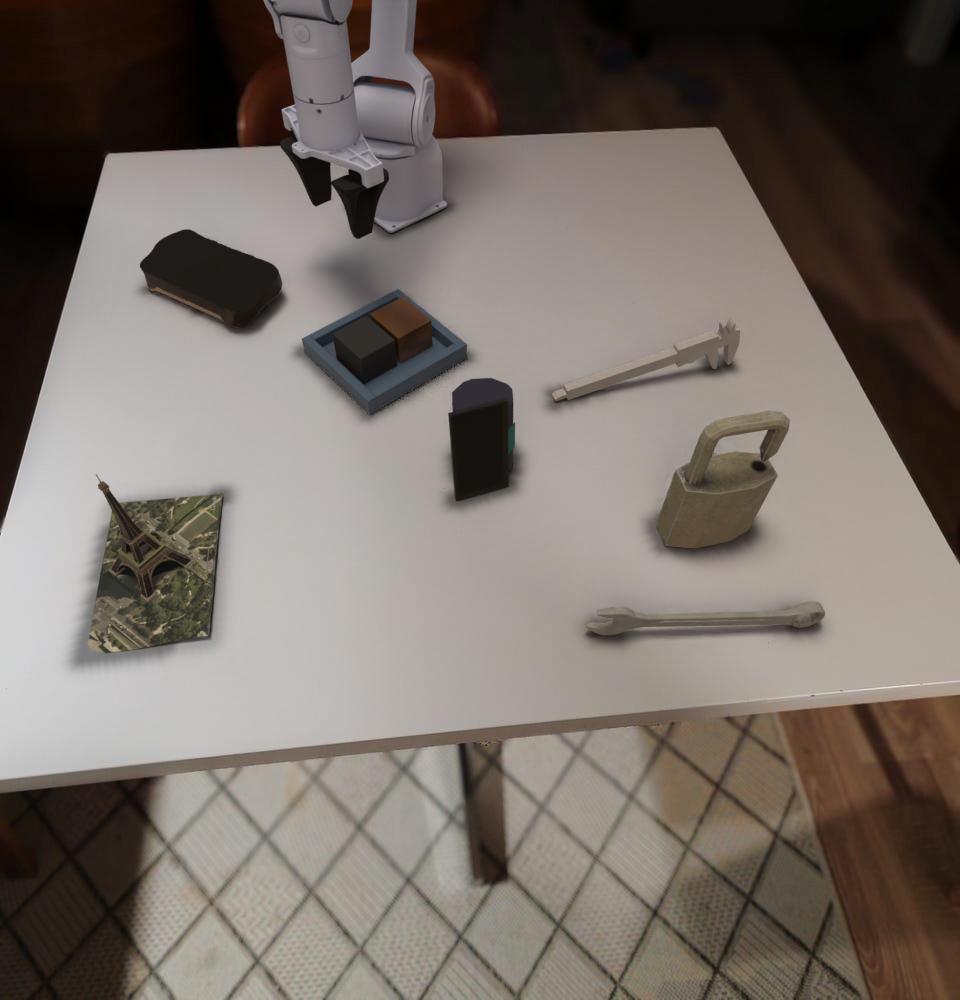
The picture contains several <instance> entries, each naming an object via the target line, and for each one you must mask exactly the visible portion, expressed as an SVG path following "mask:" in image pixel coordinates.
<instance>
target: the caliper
mask: <svg viewBox="0 0 960 1000" xmlns="http://www.w3.org/2000/svg"><path fill="white" fill-rule="evenodd" d="M740 342H741V329H740V328H739V326H738V324H737V323H736V322H735V320H734V319H733V318H732V317H730V318H729V319H728V320H727V322H726V323H725V325H724V323H723V322H722V321H719V322H718V330H717V332H716V331H715V330H711V331H709V332H705V333H702V334H700V335H697V336H694V337H691V338H688V339H685V340H682V341H679V342H677V343H674V344H673V346H672V347H670V348H667V349H664V350H661V351H659V352H655V353H653V354H649V355H647V356H643V357H641V358H637V359H635V360H632V361H629V362H626V363H623V364H620V365H618V366H614V367H612V368H608V369H605V370H602V371H600V372H597V373H593V374H591V375H588V376H585V377H582V378H579V379H576V380H573V381H571V382H567V383H565V384H563V387H562V388H559V389H557V390H554V391H553V392H552V393H551V395H552V398H553V399H554V401H555V402H558V401H560V400H564V399H567V401H570V400H574V399H577V398H579V397H581V396H584V395H587V394H590V393H594V392H596V391H599V390H602V389H605V388H607V387H610V386H613V385H616V384H619V383H622V382H625V381H628V380H631V379H634V378H637V377H639V376H643V375H645V374H648V373H651V372H655V371H657V370H660V369H663V368H666V367H669V366H671V365H676V367H677V368H681V367H683V366H684V365H687V364H692V363H694V362H696V361H697V360H700V359H701V357H704V356H705V358H706V360H707V362H708V364H709V366H710V367H711V368H712V369H714V370H716V369H717V368H718V367H717V366H718V365H717V364H718V363H719V349H721V348H723V358H722V360H723V361H724V362H725V364H726V365H731V363H732V362H733V361H734V358H735V356H736V353H737V351H738V348H739V346H740Z"/></svg>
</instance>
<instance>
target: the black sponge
mask: <svg viewBox="0 0 960 1000" xmlns="http://www.w3.org/2000/svg"><path fill="white" fill-rule="evenodd" d="M139 268H140V269H141V270H140V271H142V272H143V276H144V278H145V282H146V286H147V288H148V289H149V290H150V291H151V292H158V293H161V294H163V295H165V296H167V297H168V298H172V299H174V300H176V301H179V302H181V303H182V304H186V305H188V306H190V307H192V308H194V309H196V310H198V311H201V312H203V313H205V314H208V315H210V316H212V317H215V318H216V319H219V320H221V321H222V322H223V323H224V324H225V326H228V327H232V328H236V329H243V328H246V327H247V326H249V325H250V324H251V323H252V322H253V321H254V320H255V319H256V318H257V317H258V316H259V314H260V313H261V312H262V310H264V308H265V307H266V306H267V305H269V304H270V303H271V302H272V301H274V299H276V298H277V297H279V296H280V295H281V292H282V290H283V289H282V288H283V281H282V277H281V274H280V271H279V269H278V267H277V266H276V265H275V264H273V263H271V262H270V261H267V260H265V259H262V258H259V257H256V256H254V255H252V254H249V253H246V252H242V251H240V250H239V249H235V248H232V247H230V246H227V245H225V244H223V243H220V242H218V241H216V240H214V239H210V238H207V237H205V236H204V235H202V234H199V233H197V232H196V231H194V230H192V229H190V228H189V229H188V228H185V229H181V230H178V231H175V232H173V233H170V234H167V235H166V236H164V237H163V238H161V239H160V240H159V241H158V242H156V244H154V246H153V248H152V250H151V251H150V252H149V254H147V255H146V256H145V257H144V258H142V260H140V262H139Z"/></svg>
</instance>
